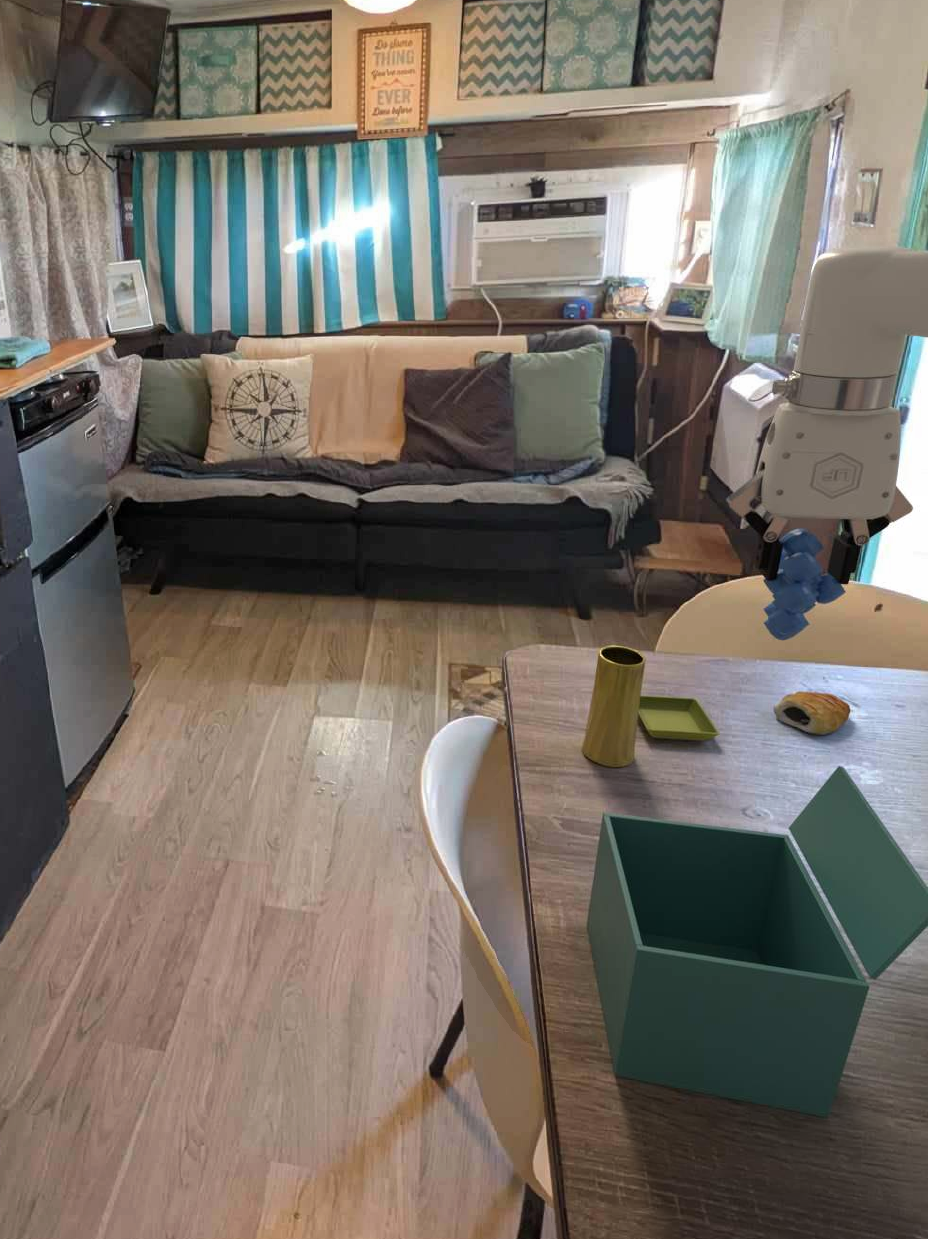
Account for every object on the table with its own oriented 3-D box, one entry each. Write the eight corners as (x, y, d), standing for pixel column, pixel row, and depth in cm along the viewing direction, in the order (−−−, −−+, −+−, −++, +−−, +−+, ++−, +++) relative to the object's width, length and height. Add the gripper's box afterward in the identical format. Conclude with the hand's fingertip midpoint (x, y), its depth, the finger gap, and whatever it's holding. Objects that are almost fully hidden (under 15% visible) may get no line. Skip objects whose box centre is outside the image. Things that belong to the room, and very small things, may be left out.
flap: (788, 827, 73) (792, 829, 73) (869, 978, 59) (875, 980, 59) (838, 765, 70) (843, 767, 70) (937, 907, 56) (944, 910, 55)
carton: (759, 951, 78) (788, 834, 73) (828, 1118, 64) (870, 986, 59) (586, 924, 82) (602, 812, 77) (614, 1076, 67) (637, 949, 63)
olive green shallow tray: (694, 710, 115) (696, 697, 114) (718, 747, 107) (721, 733, 106) (626, 707, 117) (628, 694, 116) (645, 743, 109) (647, 729, 108)
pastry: (812, 699, 117) (818, 675, 115) (864, 723, 111) (871, 698, 109) (767, 716, 113) (773, 692, 112) (818, 742, 107) (825, 717, 106)
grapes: (838, 673, 78) (868, 553, 73) (752, 658, 81) (777, 542, 77) (827, 623, 87) (853, 514, 83) (751, 611, 90) (772, 506, 86)
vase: (585, 735, 111) (598, 639, 106) (636, 747, 108) (652, 649, 103) (578, 760, 106) (591, 661, 101) (631, 773, 103) (647, 672, 98)
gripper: (744, 400, 74) (713, 587, 80) (977, 399, 70) (925, 598, 76) (721, 385, 81) (694, 559, 87) (931, 383, 76) (887, 567, 83)
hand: (802, 575), depth 81 cm, fingers closed on grapes, 5 cm apart
